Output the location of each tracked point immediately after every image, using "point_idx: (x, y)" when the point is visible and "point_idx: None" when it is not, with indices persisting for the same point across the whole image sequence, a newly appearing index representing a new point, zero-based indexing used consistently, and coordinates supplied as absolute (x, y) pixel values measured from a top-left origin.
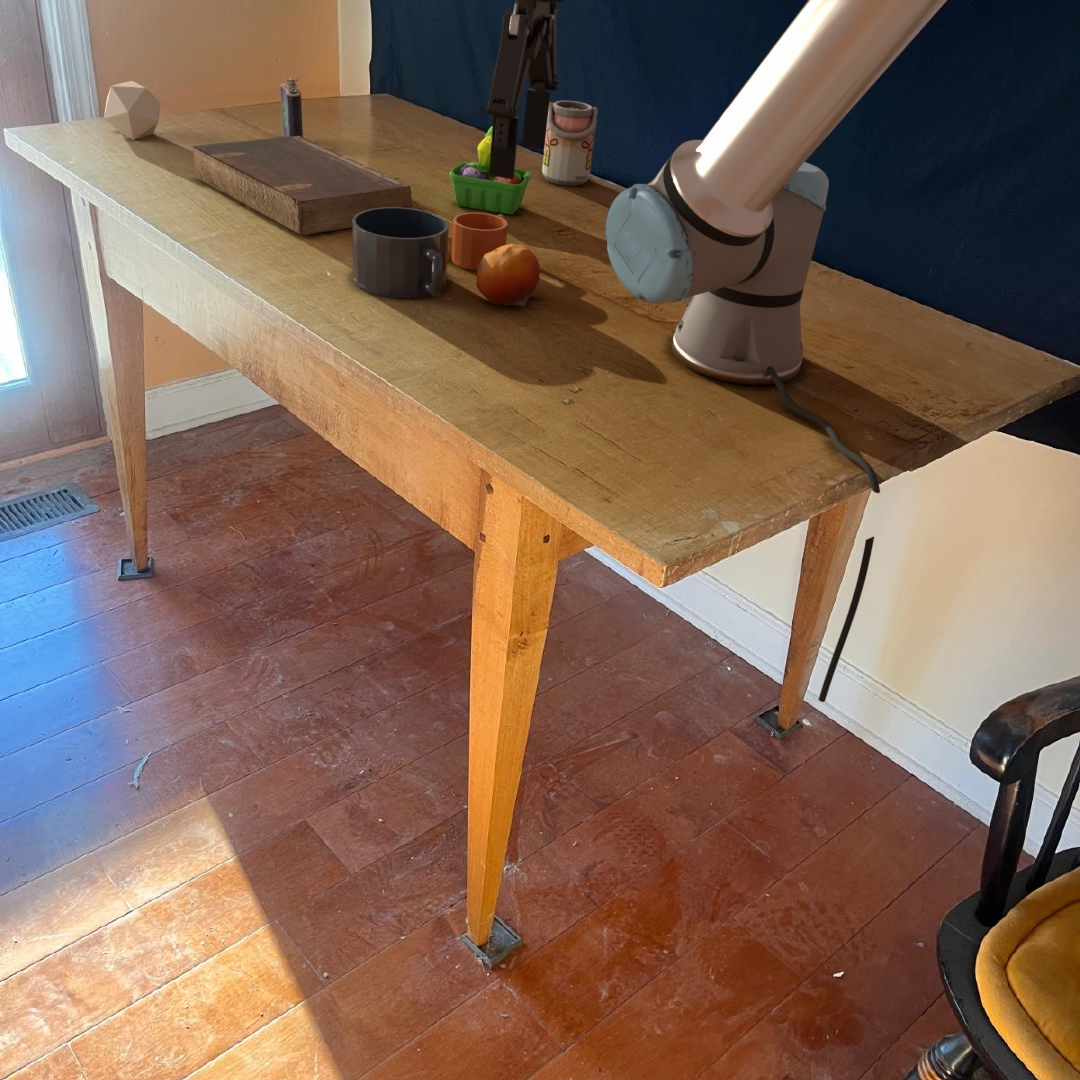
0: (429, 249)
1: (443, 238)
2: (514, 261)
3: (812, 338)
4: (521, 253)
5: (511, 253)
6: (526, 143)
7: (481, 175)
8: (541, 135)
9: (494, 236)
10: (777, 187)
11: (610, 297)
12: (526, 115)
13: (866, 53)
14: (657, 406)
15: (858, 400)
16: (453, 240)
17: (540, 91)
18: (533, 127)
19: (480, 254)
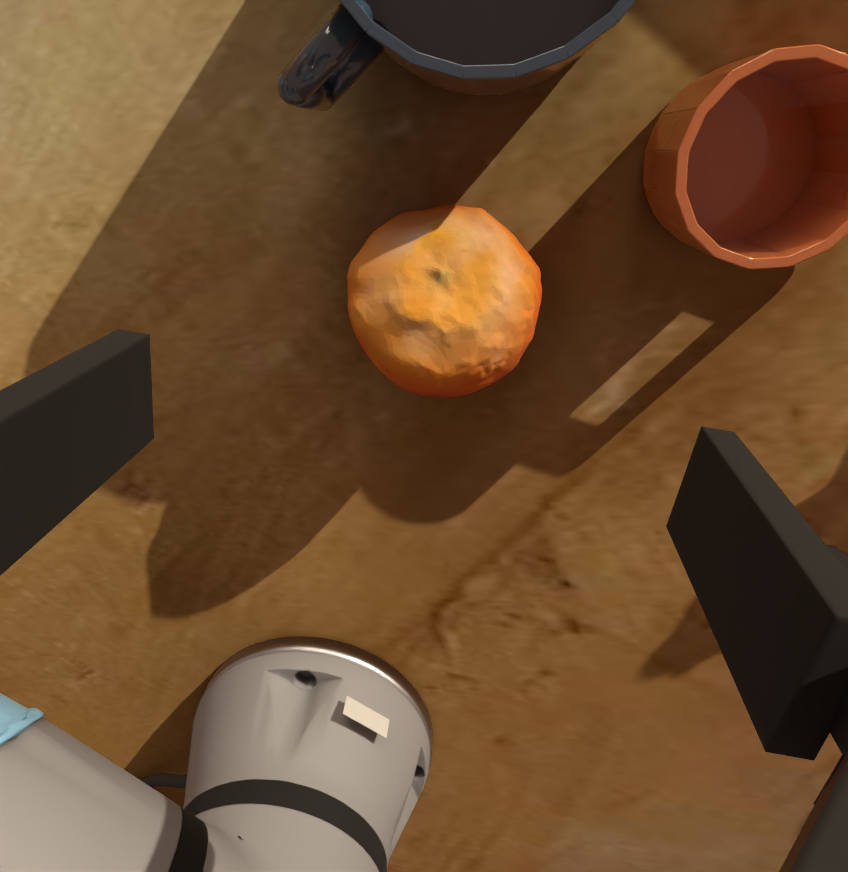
0: (318, 45)
1: (439, 74)
2: (368, 341)
3: (452, 838)
4: (397, 362)
5: (393, 331)
6: (696, 456)
7: None
8: (686, 552)
9: (683, 230)
10: None
11: (543, 528)
12: (753, 519)
13: None
14: (63, 602)
15: None
16: (729, 66)
17: (800, 704)
18: (716, 529)
19: (654, 182)
